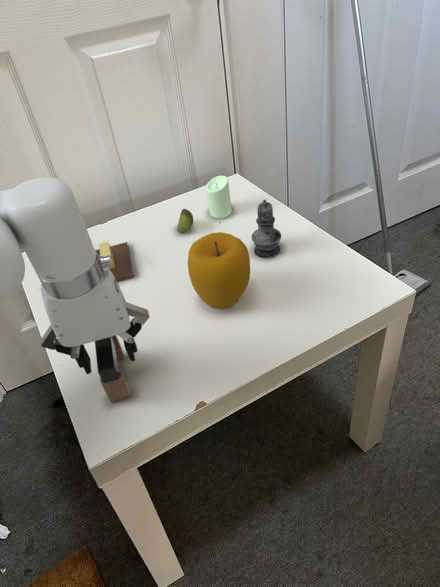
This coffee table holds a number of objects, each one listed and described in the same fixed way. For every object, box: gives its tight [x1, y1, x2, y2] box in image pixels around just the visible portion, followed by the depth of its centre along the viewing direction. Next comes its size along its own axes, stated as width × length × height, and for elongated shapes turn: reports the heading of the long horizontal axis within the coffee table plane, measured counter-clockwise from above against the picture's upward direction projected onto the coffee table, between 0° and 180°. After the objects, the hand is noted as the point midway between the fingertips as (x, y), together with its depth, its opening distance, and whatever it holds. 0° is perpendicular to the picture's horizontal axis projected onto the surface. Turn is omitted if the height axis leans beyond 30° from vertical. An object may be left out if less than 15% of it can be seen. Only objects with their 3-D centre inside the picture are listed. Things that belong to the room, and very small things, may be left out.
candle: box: [205, 175, 233, 219], centre depth 101 cm, size 5×5×8 cm
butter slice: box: [98, 241, 115, 269], centre depth 93 cm, size 2×4×4 cm, turn 16°
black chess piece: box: [251, 199, 282, 260], centre depth 89 cm, size 6×6×12 cm
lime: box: [176, 208, 194, 233], centre depth 99 cm, size 4×5×5 cm
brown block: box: [99, 335, 132, 404], centre depth 72 cm, size 3×9×6 cm, turn 16°
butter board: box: [95, 241, 136, 283], centre depth 94 cm, size 14×11×1 cm
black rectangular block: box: [94, 336, 120, 384], centre depth 71 cm, size 2×10×8 cm, turn 16°
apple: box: [187, 231, 251, 310], centre depth 80 cm, size 11×11×13 cm
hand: (110, 359), depth 71 cm, fingers open, 6 cm apart
